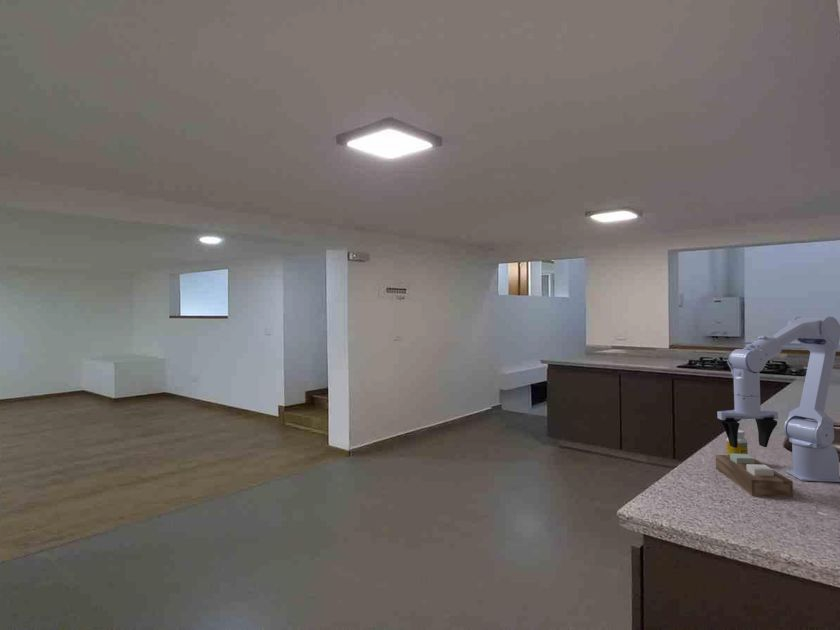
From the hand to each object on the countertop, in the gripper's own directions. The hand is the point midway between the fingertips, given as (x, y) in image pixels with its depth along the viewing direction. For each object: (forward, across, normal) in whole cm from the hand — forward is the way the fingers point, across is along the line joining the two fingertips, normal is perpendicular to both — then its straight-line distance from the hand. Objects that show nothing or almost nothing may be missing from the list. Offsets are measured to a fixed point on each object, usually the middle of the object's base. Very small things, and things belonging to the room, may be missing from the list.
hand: (748, 446), depth 127 cm
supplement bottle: (+11, -9, -20) cm, 24 cm away
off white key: (+8, -1, +2) cm, 8 cm away
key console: (+10, -2, -3) cm, 11 cm away
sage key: (+8, -3, -8) cm, 11 cm away
